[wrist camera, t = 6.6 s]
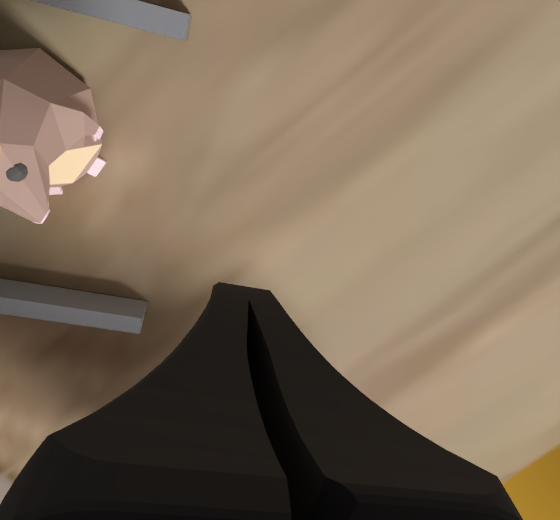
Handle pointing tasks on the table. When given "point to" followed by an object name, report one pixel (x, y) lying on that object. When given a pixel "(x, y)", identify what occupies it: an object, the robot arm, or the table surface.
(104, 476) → the robot arm
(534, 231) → the table surface
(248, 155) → the table surface
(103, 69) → the table surface
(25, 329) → the table surface
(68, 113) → the mouse figurine
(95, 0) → the tray
